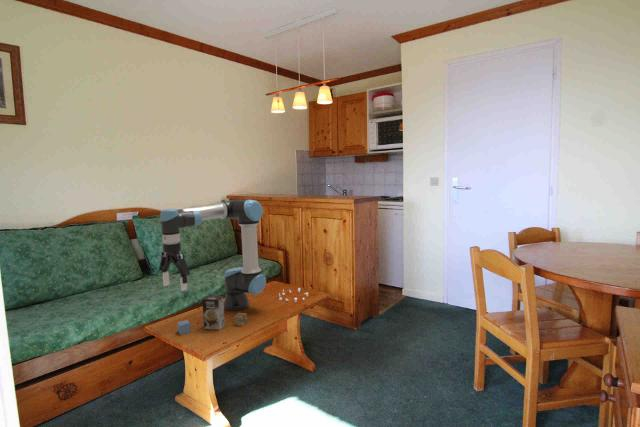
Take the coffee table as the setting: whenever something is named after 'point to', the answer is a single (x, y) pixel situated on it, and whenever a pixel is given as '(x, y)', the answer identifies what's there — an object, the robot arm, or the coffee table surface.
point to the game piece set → (294, 298)
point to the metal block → (240, 319)
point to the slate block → (183, 327)
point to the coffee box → (213, 312)
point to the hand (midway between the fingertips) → (175, 287)
